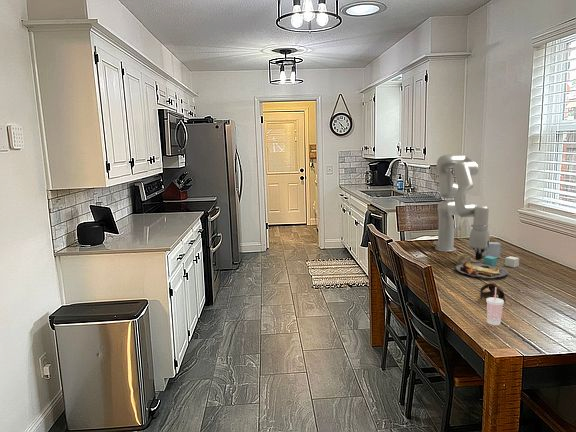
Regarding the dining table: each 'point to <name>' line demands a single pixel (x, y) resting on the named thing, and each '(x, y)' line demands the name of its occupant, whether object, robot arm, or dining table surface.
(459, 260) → the maple block
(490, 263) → the teal block
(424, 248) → the dining table surface
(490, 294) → the pottery mug
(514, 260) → the white block
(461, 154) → the robot arm
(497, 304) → the beverage cup
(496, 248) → the medicine box
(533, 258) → the dining table surface
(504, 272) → the food plate
